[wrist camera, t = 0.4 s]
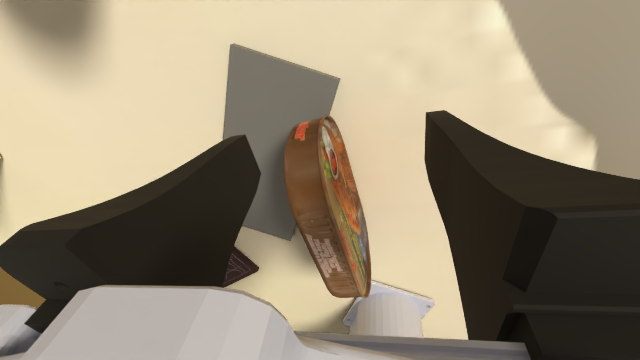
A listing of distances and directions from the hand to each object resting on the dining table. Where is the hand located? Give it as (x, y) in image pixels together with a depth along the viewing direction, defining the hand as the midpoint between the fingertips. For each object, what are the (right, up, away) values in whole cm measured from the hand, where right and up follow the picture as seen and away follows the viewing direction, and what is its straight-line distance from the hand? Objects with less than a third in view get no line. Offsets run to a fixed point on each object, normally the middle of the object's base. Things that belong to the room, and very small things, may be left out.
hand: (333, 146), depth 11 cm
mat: (-5, +1, +14) cm, 15 cm away
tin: (+1, -1, +13) cm, 14 cm away
